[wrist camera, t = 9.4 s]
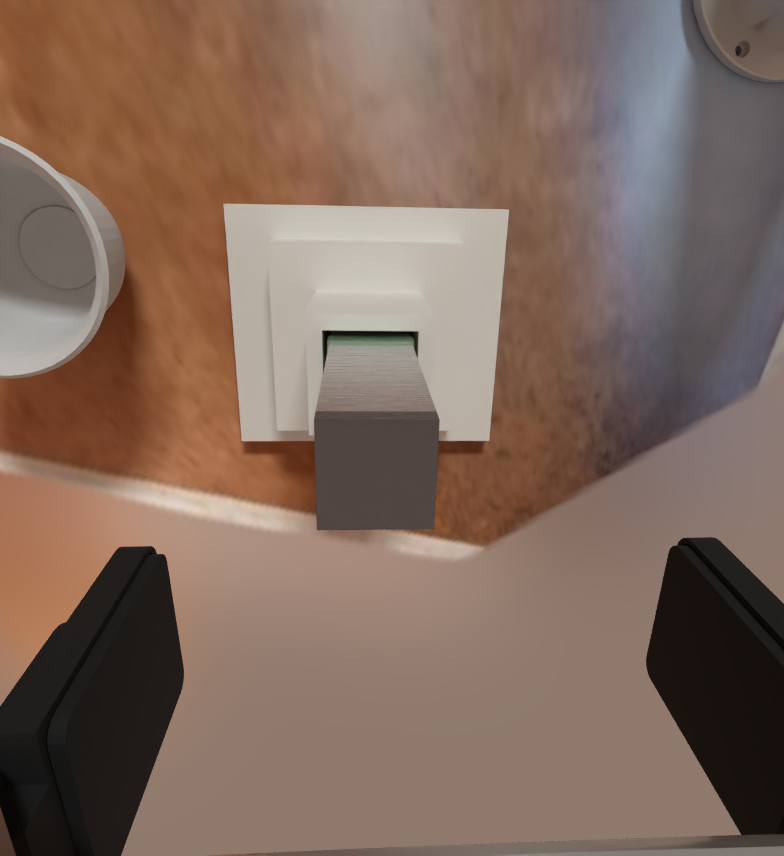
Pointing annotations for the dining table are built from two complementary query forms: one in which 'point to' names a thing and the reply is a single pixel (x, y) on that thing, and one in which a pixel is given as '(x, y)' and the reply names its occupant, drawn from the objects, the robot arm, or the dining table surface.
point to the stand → (363, 304)
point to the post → (374, 435)
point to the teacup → (51, 264)
